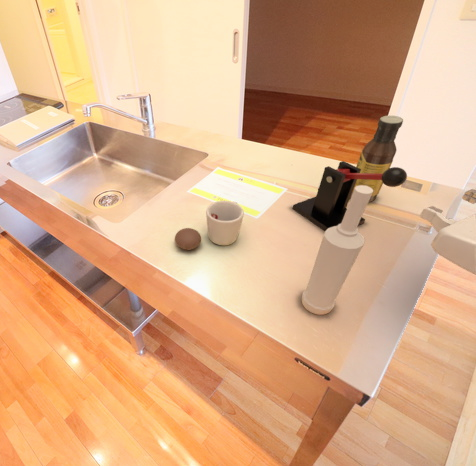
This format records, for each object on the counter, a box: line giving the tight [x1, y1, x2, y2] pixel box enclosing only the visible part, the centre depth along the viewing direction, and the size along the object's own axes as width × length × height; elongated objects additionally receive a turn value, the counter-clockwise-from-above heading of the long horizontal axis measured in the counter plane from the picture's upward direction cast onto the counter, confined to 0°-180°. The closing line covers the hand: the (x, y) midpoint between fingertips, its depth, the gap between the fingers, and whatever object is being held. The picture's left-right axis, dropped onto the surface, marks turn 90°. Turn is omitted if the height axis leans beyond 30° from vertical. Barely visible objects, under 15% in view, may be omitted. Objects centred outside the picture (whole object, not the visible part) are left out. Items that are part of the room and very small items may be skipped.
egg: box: [174, 227, 202, 251], centre depth 73 cm, size 6×6×4 cm
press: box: [292, 160, 366, 232], centre depth 72 cm, size 12×9×13 cm
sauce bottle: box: [350, 115, 404, 203], centre depth 73 cm, size 6×6×20 cm
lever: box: [335, 166, 408, 188], centre depth 64 cm, size 14×4×4 cm, turn 21°
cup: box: [205, 200, 245, 246], centre depth 73 cm, size 11×8×8 cm
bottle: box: [301, 185, 373, 316], centre depth 50 cm, size 5×5×25 cm
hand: (446, 201), depth 52 cm, fingers open, 8 cm apart
